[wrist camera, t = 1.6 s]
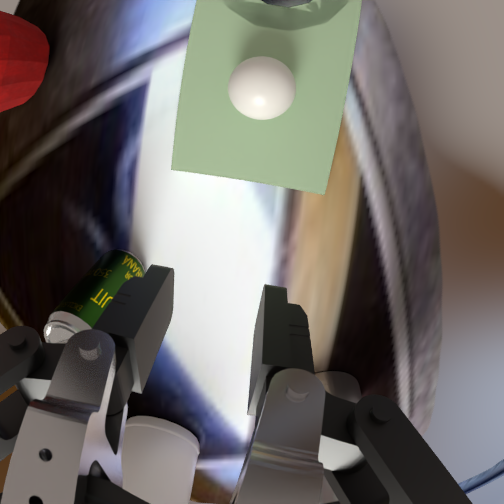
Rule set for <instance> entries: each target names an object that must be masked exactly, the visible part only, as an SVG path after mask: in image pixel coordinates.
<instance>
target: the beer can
mask: <svg viewBox="0 0 504 504" xmlns="http://www.w3.org/2000/svg"><path fill="white" fill-rule="evenodd" d="M144 275H145V269H144V266H143V264H142V262H141V261H140V260H139V258H138V257H137V256H136V255H134V254H133V253H132V252H129V251H127V250H122V249H116V250H111V251H108V252H107V253H105V254H104V255H103V256H102V257H101V258H100V259H99V260H98V261H97V262H96V263H95V264H94V266H93V267H92V268H91V269H90V270H89V271H88V272H87V273H86V274H85V275H84V276H83V278H82V279H81V280H80V281H79V282H78V283H77V284H76V285H75V287H74V288H73V289H72V290H71V291H70V292H69V293H68V295H67V296H66V297H65V298H64V299H63V300H62V302H61V303H60V304H59V305H58V306H57V307H56V309H55V310H54V311H53V312H52V313H51V315H50V316H49V319H48V322H47V324H46V326H45V328H44V337H45V339H46V342H47V343H67V341H68V340H69V338H70V337H71V336H73V335H74V334H76V333H77V332H80V331H83V330H88V329H92V328H93V326H94V325H95V323H96V322H97V320H98V319H99V317H100V316H101V314H102V313H103V311H104V310H105V309H106V307H107V306H108V304H109V303H110V302H111V300H112V298H113V297H114V296H115V294H117V291H118V290H119V288H120V287H121V286H122V284H123V283H124V282H126V281H127V280H129V279H131V278H132V277H134V276H138V277H143V276H144Z"/></svg>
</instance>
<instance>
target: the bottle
mask: <svg viewBox="0 0 504 504" xmlns="http://www.w3.org/2000/svg"><path fill="white" fill-rule="evenodd" d="M198 454H199V442H198V440H197V438H196V437H195V436H194V435H193V434H192V433H191V432H190V431H188V430H187V429H185V428H183V427H181V426H180V425H178V424H175V423H172V422H170V421H167V420H164V419H160V418H156V417H151V416H135V417H131V418H129V419H128V420H127V421H126V424H125V431H124V439H123V447H122V455H121V466H122V473H123V489H124V490H126V491H128V492H130V493H131V494H133V495H135V496H137V497H139V498H140V499H142V500H144V501H146V502H148V503H150V504H189V501H190V496H191V490H192V485H193V479H194V473H195V468H196V462H197V457H198Z"/></svg>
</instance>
